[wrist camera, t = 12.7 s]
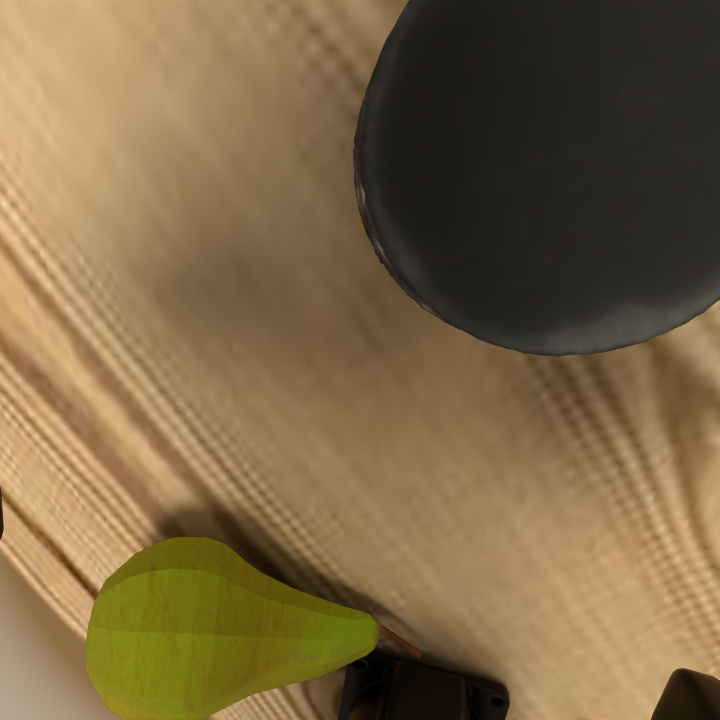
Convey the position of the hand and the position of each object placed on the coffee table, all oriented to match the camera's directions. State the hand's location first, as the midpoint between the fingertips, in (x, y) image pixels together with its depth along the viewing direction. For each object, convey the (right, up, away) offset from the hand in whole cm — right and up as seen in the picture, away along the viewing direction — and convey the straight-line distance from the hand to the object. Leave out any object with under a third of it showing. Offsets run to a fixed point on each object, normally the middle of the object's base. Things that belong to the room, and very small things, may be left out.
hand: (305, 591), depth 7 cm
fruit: (-9, -6, +12) cm, 16 cm away
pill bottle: (+5, +9, +9) cm, 14 cm away
